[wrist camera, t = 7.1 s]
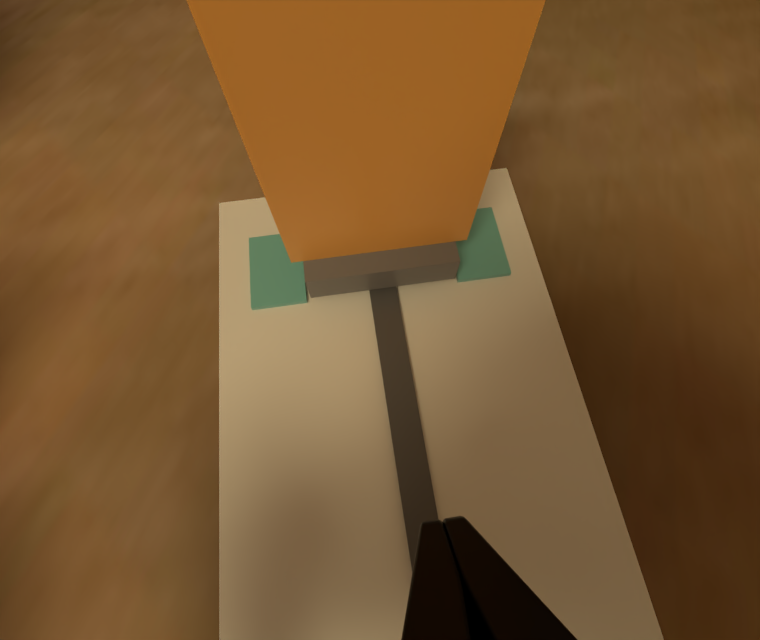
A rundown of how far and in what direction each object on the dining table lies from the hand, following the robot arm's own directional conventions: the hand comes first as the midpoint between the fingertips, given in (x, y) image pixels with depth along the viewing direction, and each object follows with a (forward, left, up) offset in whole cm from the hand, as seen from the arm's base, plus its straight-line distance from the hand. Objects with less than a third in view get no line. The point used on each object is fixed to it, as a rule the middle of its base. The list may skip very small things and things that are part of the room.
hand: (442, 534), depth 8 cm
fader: (+7, +7, -4) cm, 11 cm away
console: (+2, +2, -6) cm, 7 cm away
